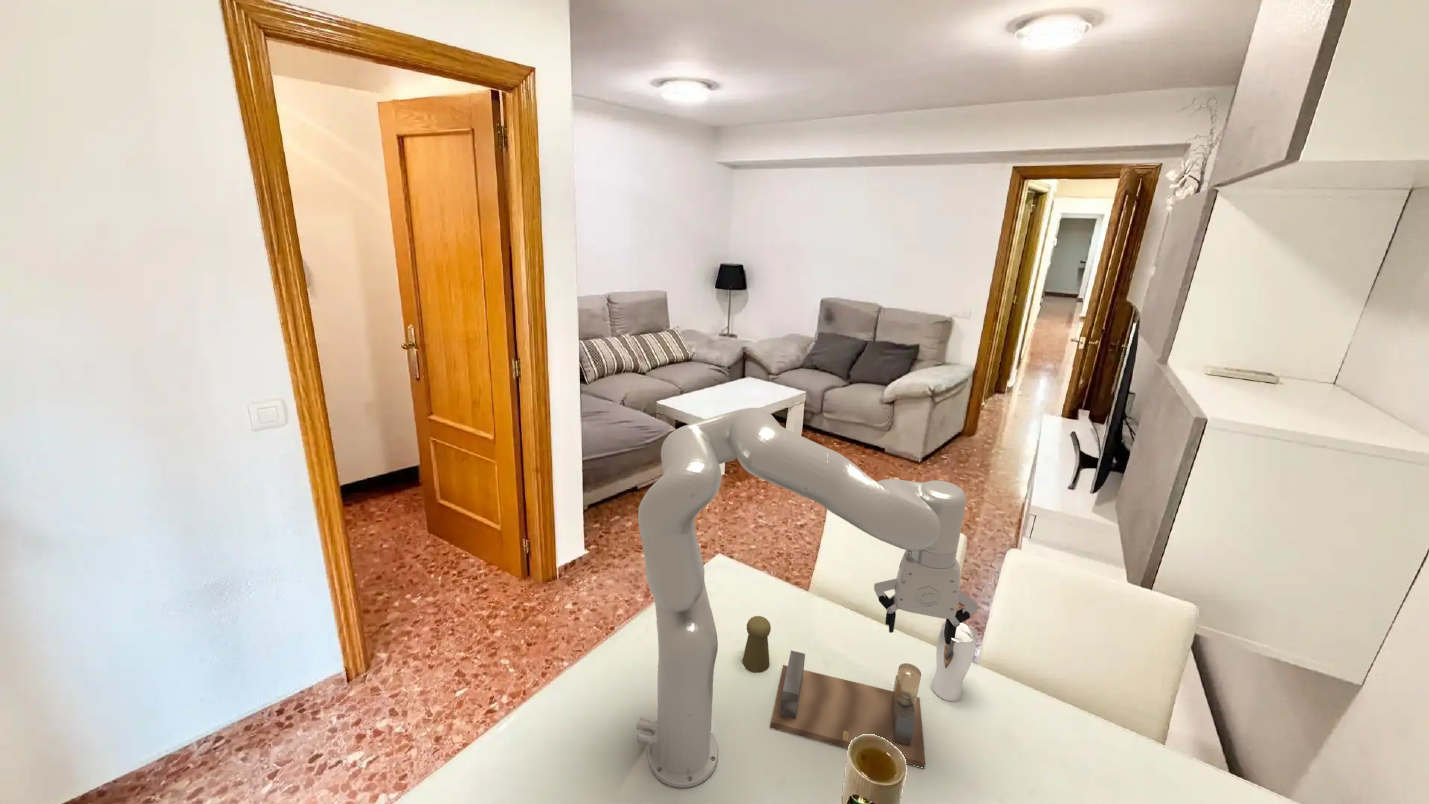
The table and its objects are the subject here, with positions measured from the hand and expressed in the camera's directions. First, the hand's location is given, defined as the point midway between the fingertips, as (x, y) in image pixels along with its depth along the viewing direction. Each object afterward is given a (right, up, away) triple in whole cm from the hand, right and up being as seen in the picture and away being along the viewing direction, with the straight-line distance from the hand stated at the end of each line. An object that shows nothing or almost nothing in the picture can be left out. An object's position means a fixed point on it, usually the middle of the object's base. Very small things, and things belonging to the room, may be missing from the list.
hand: (918, 633), depth 100 cm
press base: (-11, -20, +9) cm, 25 cm away
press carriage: (-1, -20, +6) cm, 21 cm away
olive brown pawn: (-28, -16, +22) cm, 39 cm away
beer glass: (+12, -19, +16) cm, 28 cm away
